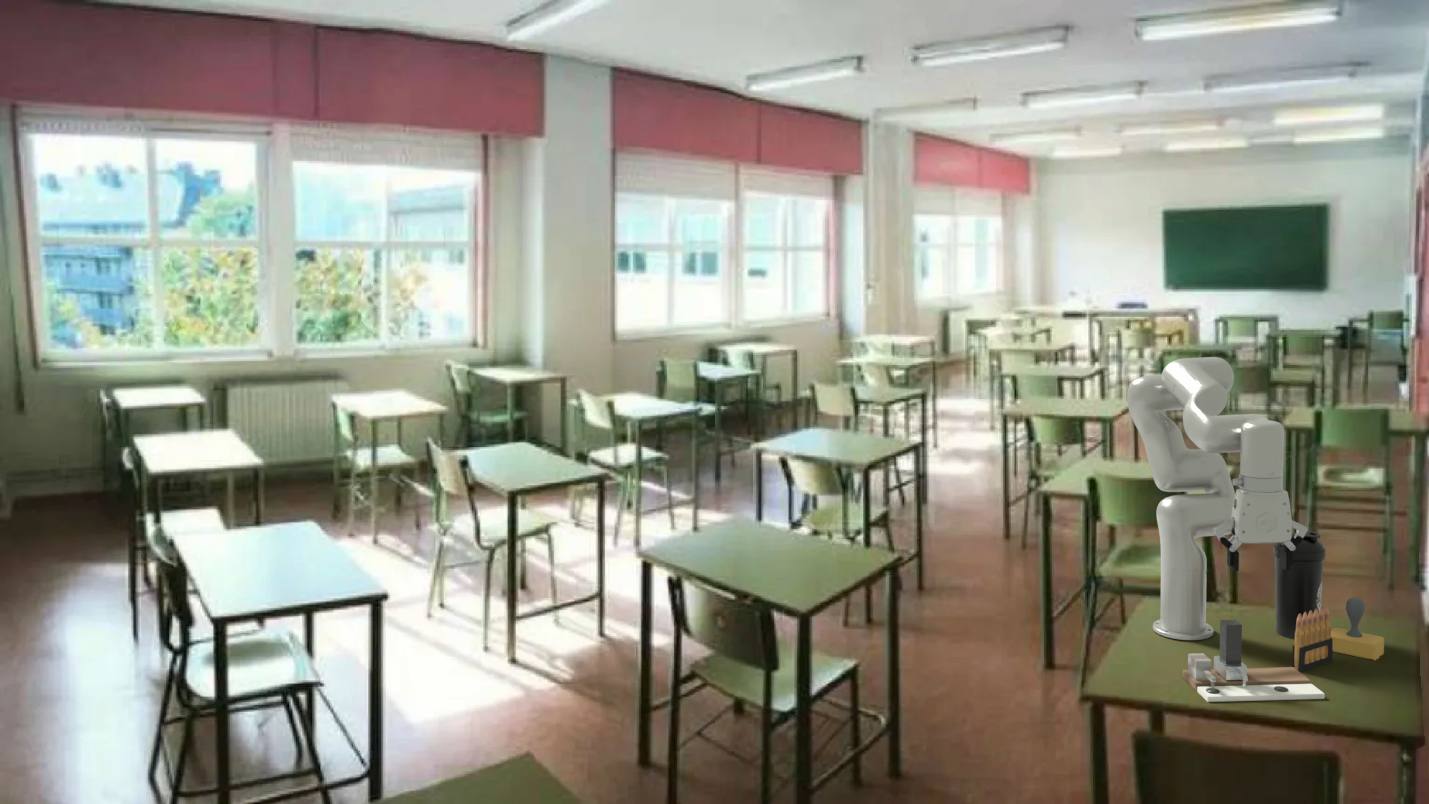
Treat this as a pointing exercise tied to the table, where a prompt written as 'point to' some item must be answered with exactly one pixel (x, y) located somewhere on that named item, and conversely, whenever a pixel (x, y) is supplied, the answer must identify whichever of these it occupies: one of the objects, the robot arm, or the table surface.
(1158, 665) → the table surface
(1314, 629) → the ammunition clip
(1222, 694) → the hole plate
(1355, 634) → the rubber stamp
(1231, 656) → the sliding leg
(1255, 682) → the divider base
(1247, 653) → the table surface
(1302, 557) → the water bottle
